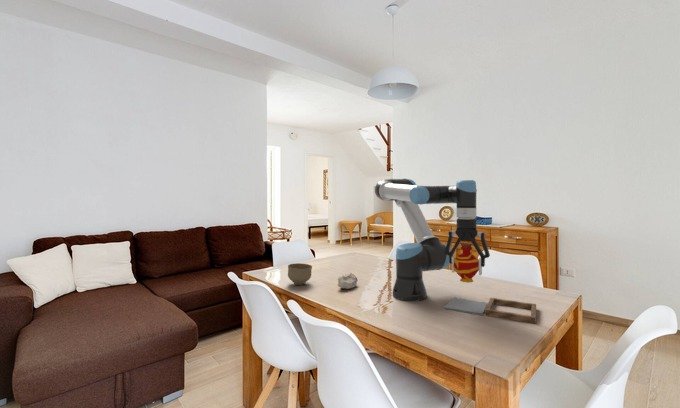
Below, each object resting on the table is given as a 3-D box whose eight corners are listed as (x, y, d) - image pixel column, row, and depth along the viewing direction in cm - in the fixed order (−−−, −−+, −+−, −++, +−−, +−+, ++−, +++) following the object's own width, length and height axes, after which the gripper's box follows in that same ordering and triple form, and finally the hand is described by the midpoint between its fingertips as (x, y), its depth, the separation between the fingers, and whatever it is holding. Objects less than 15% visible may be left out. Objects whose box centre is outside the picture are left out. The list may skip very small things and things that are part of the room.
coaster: (444, 308, 131) (444, 307, 131) (452, 298, 143) (452, 297, 143) (482, 315, 124) (482, 313, 124) (487, 304, 135) (487, 302, 135)
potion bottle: (483, 284, 127) (482, 246, 126) (455, 283, 129) (454, 245, 128) (477, 277, 137) (477, 242, 136) (451, 277, 139) (451, 242, 138)
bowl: (311, 287, 164) (310, 267, 163) (286, 287, 164) (285, 268, 163) (313, 280, 176) (313, 262, 176) (290, 281, 176) (289, 262, 176)
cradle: (484, 314, 124) (484, 309, 124) (490, 302, 138) (490, 297, 138) (535, 323, 115) (535, 317, 115) (536, 309, 129) (536, 304, 129)
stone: (358, 293, 164) (361, 274, 168) (347, 287, 154) (351, 267, 158) (344, 292, 168) (348, 273, 172) (333, 286, 158) (337, 266, 162)
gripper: (436, 218, 135) (436, 271, 135) (495, 219, 123) (495, 278, 124) (440, 217, 141) (441, 268, 142) (497, 218, 129) (498, 274, 130)
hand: (466, 273), depth 133 cm, fingers closed on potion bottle, 10 cm apart
